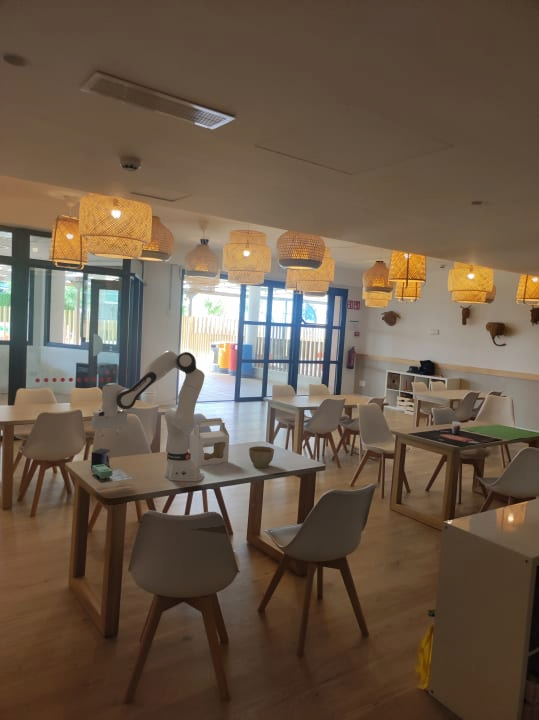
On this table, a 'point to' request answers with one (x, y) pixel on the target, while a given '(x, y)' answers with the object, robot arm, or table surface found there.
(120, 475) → the chassis
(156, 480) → the table surface
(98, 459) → the small box
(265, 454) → the planter bowl
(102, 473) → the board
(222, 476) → the table surface
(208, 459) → the gable box
